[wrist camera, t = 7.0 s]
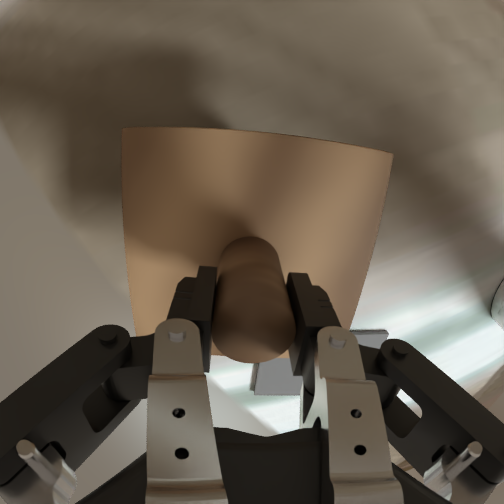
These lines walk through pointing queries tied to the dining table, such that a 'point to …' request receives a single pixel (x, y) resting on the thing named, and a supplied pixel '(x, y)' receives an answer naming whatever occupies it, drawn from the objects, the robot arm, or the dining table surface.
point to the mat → (284, 383)
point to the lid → (247, 226)
